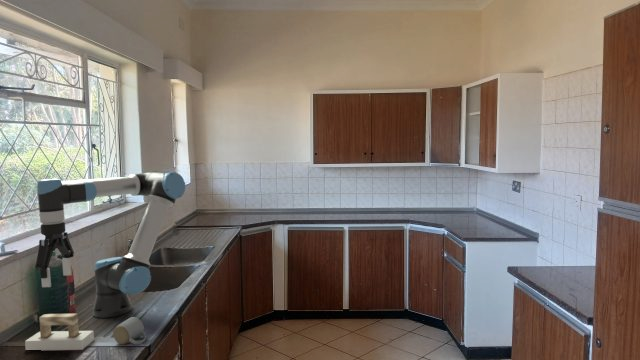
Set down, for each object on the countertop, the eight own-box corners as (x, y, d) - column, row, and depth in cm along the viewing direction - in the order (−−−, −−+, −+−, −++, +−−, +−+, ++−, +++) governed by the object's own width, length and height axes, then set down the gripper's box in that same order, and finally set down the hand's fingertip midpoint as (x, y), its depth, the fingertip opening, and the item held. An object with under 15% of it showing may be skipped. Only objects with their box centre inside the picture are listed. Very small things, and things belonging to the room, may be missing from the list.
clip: (79, 343, 164) (77, 313, 163) (75, 346, 161) (73, 316, 160) (46, 343, 164) (44, 314, 163) (41, 347, 161) (39, 317, 160)
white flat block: (94, 339, 167) (93, 330, 166) (82, 349, 159) (81, 340, 158) (39, 340, 167) (39, 331, 166) (25, 350, 159) (25, 341, 158)
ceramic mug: (111, 344, 162) (110, 323, 162) (127, 335, 170) (127, 315, 170) (136, 348, 159) (135, 327, 159) (151, 338, 167) (150, 318, 166)
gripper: (61, 216, 173) (65, 271, 175) (19, 229, 149) (25, 292, 150) (81, 216, 174) (85, 270, 175) (42, 229, 149) (48, 291, 151)
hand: (57, 280), depth 163 cm, fingers open, 13 cm apart
